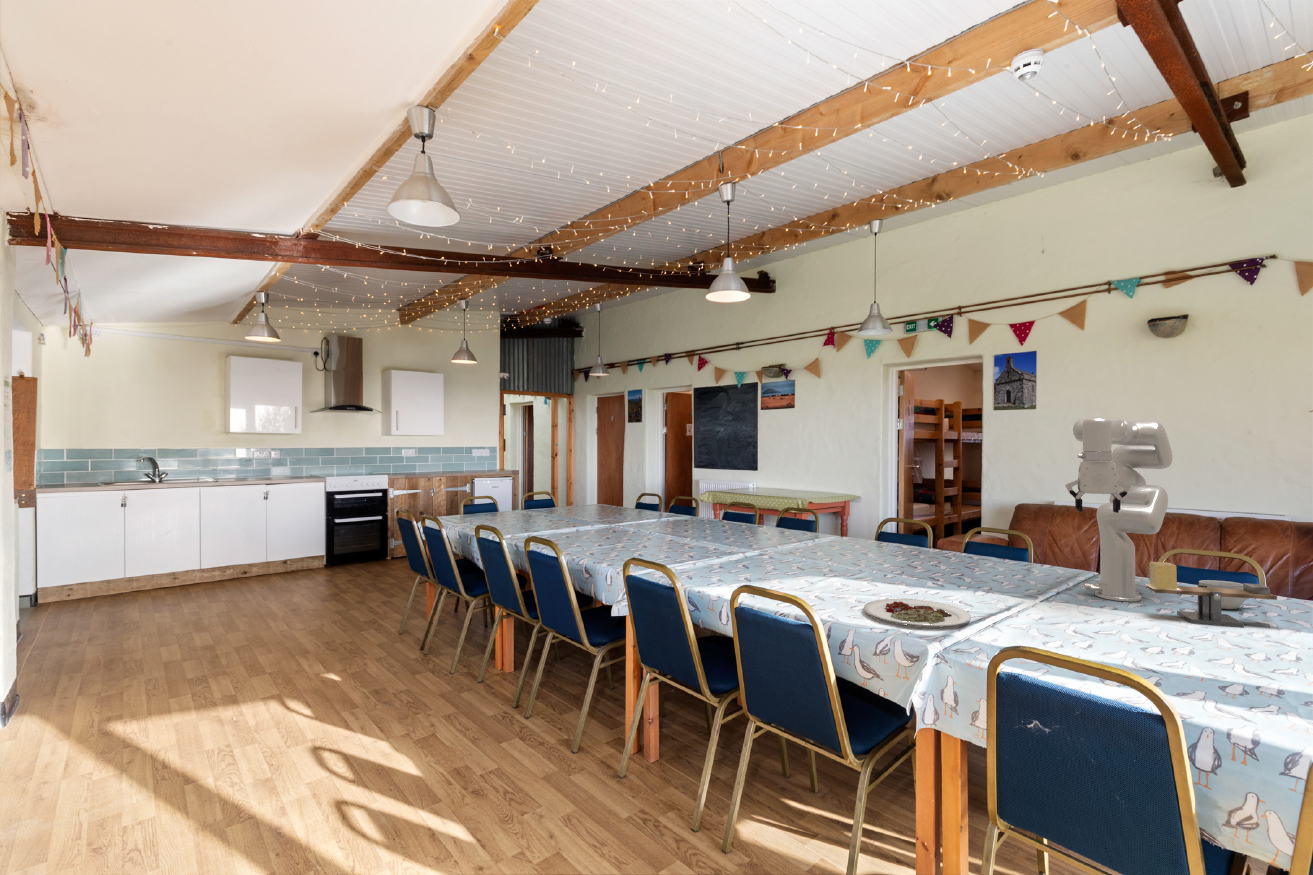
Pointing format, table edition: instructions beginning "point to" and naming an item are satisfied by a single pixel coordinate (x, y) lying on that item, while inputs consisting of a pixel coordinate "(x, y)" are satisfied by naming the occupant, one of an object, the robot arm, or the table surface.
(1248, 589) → the beam
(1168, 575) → the block
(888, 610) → the plated food
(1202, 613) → the beam stand
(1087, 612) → the table surface
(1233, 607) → the teacup
